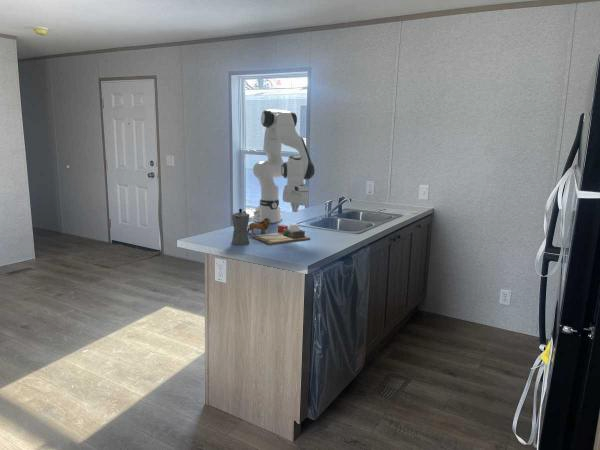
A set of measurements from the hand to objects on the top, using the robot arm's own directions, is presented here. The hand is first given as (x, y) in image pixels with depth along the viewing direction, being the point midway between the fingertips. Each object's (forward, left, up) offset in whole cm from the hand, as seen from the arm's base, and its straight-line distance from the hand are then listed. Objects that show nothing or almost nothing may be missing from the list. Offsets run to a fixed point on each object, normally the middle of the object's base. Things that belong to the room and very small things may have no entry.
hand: (294, 211), depth 241 cm
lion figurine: (-17, -13, -15) cm, 26 cm away
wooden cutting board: (-1, -8, -14) cm, 17 cm away
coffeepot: (-3, -31, -15) cm, 35 cm away
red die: (-13, +1, -14) cm, 20 cm away
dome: (0, 0, -12) cm, 12 cm away
